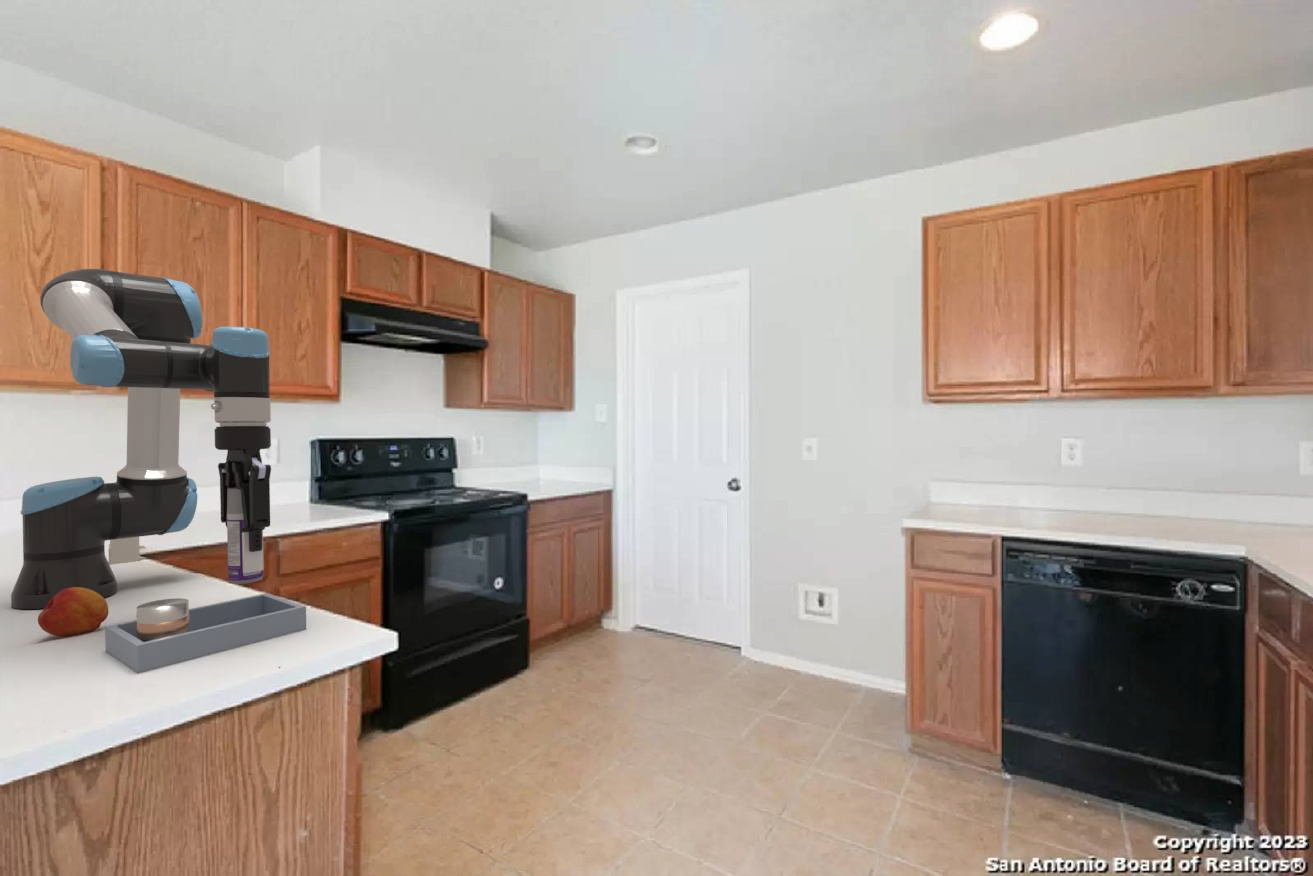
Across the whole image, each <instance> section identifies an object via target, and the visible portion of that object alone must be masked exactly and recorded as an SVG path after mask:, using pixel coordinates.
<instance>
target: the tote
mask: <svg viewBox="0 0 1313 876" xmlns="http://www.w3.org/2000/svg"><path fill="white" fill-rule="evenodd" d="M305 630H307V606H306V605H302V604H300V603H297V602H294V601H291V600H289V599H286V598H283V597H279V596H276V595H273V594H270V593H267V592H266V593H259V594H256V595H250V596H246V597H241V598H237V599H232V600H231V599H230V600H227V601H221V602H218V603H212V604H207V605H202V606H198V607H193V608H189V631H190V632H186V633H182V634H178V635H173V636H169V637H165V638H160V639H156V640H152V641H147V642H143V641H141V640H139V639H137V619H136V620H135V619H134V620H129V621H125V622H120V623H115V624H111V625H107V626H106V625H105V627H104V631H105V633H104V635H105V638H104V639H105V653H107V654H108V655H110V656H111V657H112V658H114V659H115V660H117V661H119V662H120V663H121V664H123V665H124V666H126V667H128V668H129V669H130V670H132V671H133V672H135V673H136V674H141V673H146V672H149V671H152V670H153V671H154V670H156V669H160V668H164V667H168V666H172V665H175V664H180V663H184V662H188V661H190V660H194V659H195V660H196V659H198V658H203V657H206V656H210V655H214V654H218V653H221V652H226V651H230V650H232V649H233V650H234V649H237V648H240V647H245V646H248V645H249V646H250V645H252V644H255V643H261V642H263V641H268V640H271V639H274V638H279V637H283V636H286V635H290V634H294V633H297V632H301V631H305Z"/></svg>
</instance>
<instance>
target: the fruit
mask: <svg viewBox="0 0 1313 876" xmlns="http://www.w3.org/2000/svg"><path fill="white" fill-rule="evenodd" d="M108 615H109V605H108V603H107V600H106V599H105V598H103V597H102V596H101V595H100V594H98V593H97V592H95V591H93V590H90V589H86V588H82V587H71V588H66V589H63V590H61V591H60V592H59V593H57V594H56V595H55V596H54V597H53V598H52V599H51V600H50V601H49V602H48V603H47V605H46V606H45V608H43V610H42V611H41V612H40V613H39V614H38V616H37V623H38V625H39V627H40V628H41V630H43V631H44V632H45V633H47V634H49V635H51V636H55V637H62V638H63V637H65V638H71V637H75V636H80V635H85V634H89V633H93V632H95V631H96V630H97V629H99V628H100V627H101V625H102V623H103V622H105V620H107V618H108Z"/></svg>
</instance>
